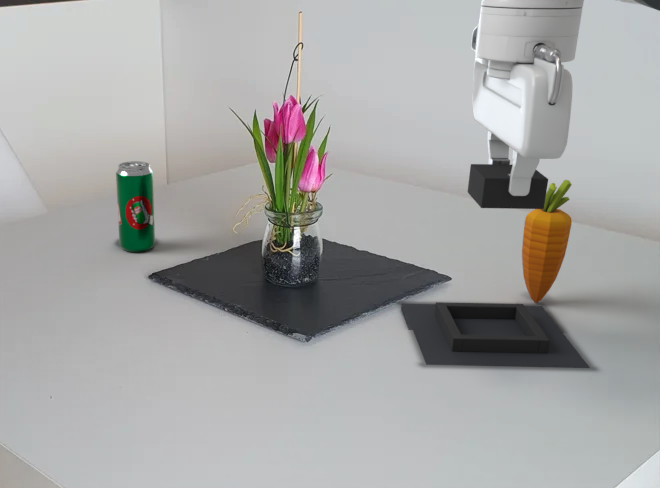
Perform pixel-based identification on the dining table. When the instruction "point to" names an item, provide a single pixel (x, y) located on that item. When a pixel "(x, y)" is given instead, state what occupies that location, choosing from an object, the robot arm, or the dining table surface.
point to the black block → (504, 188)
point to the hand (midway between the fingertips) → (506, 184)
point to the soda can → (135, 206)
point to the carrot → (545, 242)
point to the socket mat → (489, 335)
